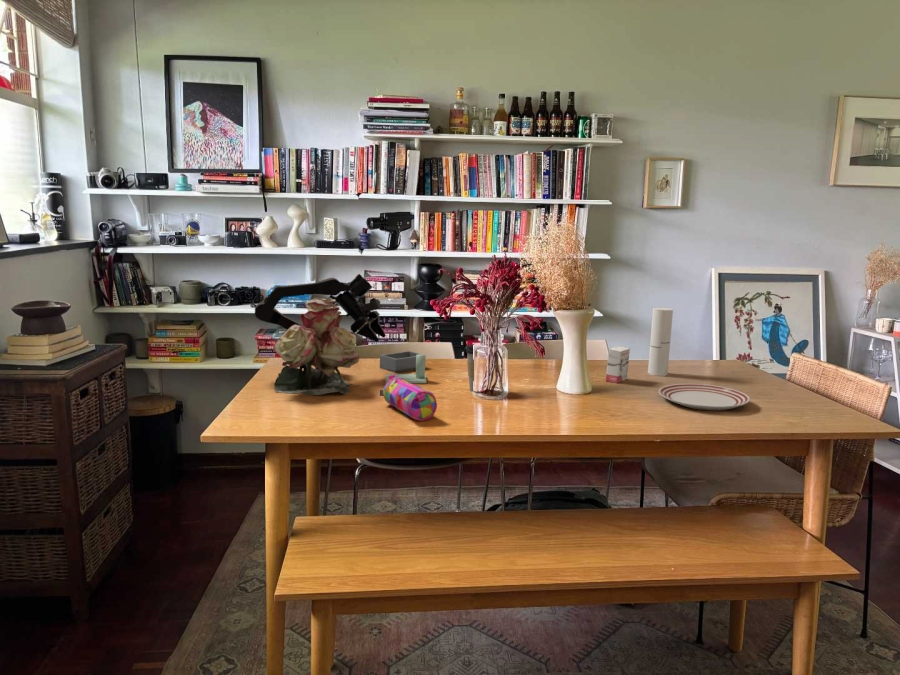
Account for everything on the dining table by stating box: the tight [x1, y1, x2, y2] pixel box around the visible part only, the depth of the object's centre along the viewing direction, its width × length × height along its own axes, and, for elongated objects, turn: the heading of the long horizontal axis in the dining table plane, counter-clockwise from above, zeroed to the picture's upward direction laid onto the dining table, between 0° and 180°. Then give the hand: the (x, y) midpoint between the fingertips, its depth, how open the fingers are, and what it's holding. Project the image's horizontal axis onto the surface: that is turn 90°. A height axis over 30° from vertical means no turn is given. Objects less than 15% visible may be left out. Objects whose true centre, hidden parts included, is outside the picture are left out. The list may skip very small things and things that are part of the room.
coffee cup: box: [465, 343, 475, 392], centre depth 221 cm, size 9×9×15 cm
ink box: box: [605, 345, 631, 384], centre depth 240 cm, size 9×5×12 cm, turn 143°
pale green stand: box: [385, 353, 427, 384], centre depth 232 cm, size 10×14×9 cm
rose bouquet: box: [272, 296, 360, 396], centre depth 218 cm, size 26×29×30 cm
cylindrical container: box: [647, 307, 674, 377], centre depth 251 cm, size 7×7×25 cm
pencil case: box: [379, 375, 438, 422], centre depth 194 cm, size 22×9×9 cm, turn 30°
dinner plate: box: [658, 383, 751, 411], centre depth 214 cm, size 27×27×3 cm
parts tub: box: [379, 350, 420, 374], centre depth 251 cm, size 10×14×5 cm
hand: (381, 338), depth 236 cm, fingers open, 9 cm apart
